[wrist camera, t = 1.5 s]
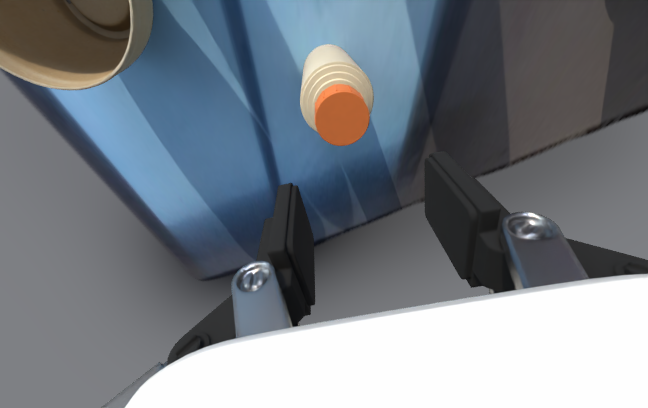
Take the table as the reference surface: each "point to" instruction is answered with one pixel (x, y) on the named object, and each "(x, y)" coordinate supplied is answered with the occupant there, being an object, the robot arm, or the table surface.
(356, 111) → the cap
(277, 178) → the table surface
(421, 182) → the table surface
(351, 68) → the bottle
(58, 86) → the planter bowl
